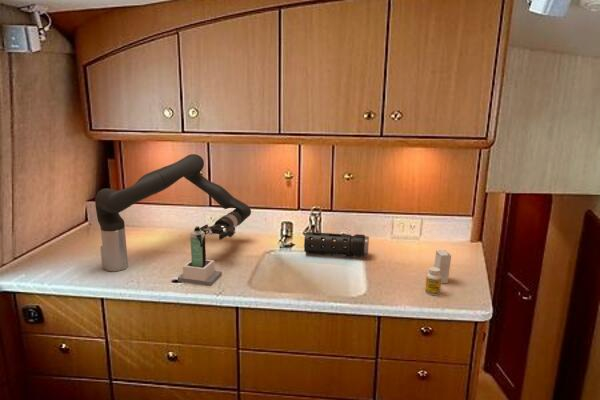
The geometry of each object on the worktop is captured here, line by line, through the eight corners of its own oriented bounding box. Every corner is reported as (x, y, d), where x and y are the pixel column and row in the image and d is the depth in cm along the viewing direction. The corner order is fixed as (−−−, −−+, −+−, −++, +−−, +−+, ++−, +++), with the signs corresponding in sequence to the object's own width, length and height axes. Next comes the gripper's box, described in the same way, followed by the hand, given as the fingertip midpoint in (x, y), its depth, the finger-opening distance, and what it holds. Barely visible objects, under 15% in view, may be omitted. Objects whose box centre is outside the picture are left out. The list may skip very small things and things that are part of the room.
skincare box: (432, 277, 198) (434, 249, 195) (443, 277, 198) (445, 249, 195) (437, 284, 192) (440, 255, 189) (448, 283, 193) (451, 254, 189)
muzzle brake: (306, 249, 227) (307, 228, 224) (368, 253, 223) (369, 232, 220) (303, 257, 218) (304, 235, 215) (367, 261, 214) (368, 239, 211)
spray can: (209, 274, 194) (207, 226, 189) (198, 279, 191) (195, 230, 185) (200, 271, 198) (198, 223, 193) (189, 275, 194) (187, 226, 189)
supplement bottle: (439, 290, 187) (441, 266, 184) (440, 296, 182) (443, 272, 179) (424, 289, 188) (426, 265, 185) (425, 295, 183) (427, 271, 180)
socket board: (177, 281, 192) (176, 265, 190) (190, 271, 202) (189, 256, 200) (210, 285, 188) (210, 270, 187) (221, 275, 198) (221, 260, 196)
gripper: (210, 214, 217) (193, 226, 202) (241, 217, 213) (226, 229, 198) (211, 231, 219) (194, 243, 204) (241, 234, 215) (226, 246, 200)
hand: (210, 236), depth 201 cm, fingers open, 8 cm apart
